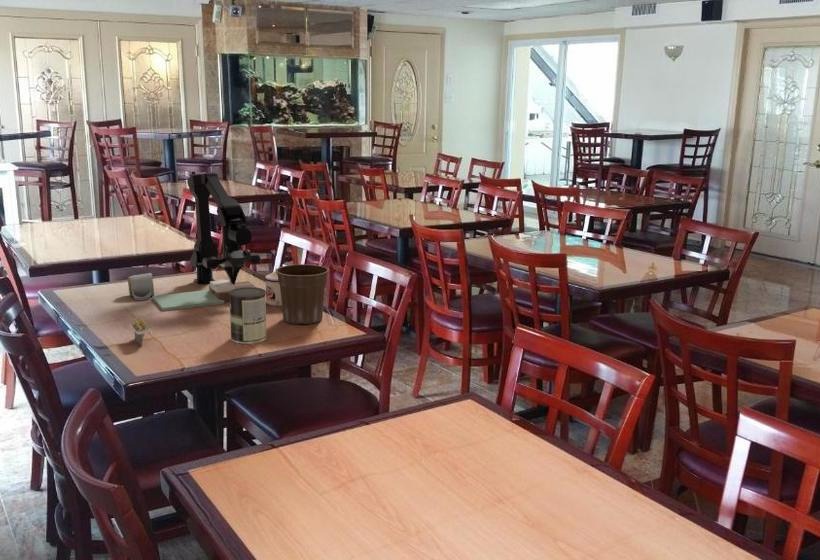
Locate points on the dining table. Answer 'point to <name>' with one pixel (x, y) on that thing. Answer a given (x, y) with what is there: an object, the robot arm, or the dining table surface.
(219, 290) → the ivory tile
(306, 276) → the plant pot
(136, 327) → the yellow flower bouquet
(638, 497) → the dining table surface
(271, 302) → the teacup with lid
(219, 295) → the walnut deck
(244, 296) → the coffee can
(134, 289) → the ceramic mug
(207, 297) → the sage mat
